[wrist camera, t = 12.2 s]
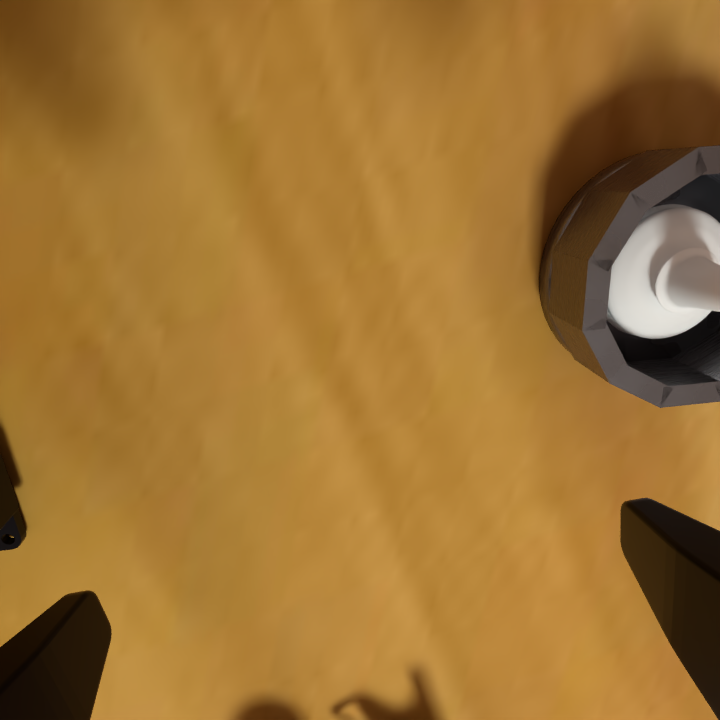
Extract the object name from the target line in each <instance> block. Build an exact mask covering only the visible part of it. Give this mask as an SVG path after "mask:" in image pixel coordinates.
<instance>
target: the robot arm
mask: <svg viewBox="0 0 720 720" xmlns="http://www.w3.org/2000/svg"><path fill="white" fill-rule="evenodd" d="M18 508H19V505H18V502H17V499H16V496H15V493H14V490H13V487H12V485H11V482H10V479H9V476H8V473H7V470H6V467H5V464H4V461H3V459H2V456H1V455H0V551H2V550H11V549H15V548H17V547H18V546H20V544H21V543H22V542H23V541H24V539H25V537H26V530H25V527H24V524H23V521H22V518H21V516H20V513H19V510H18ZM7 534H10V535H12V536H13V537H14V538H11V537H9V536H8V535H7ZM621 547H622V551H623V553H624V556H625V558H626V560H627V562H628V564H629V566H630V568H631V570H632V571H633V573H634V575H635V577H636V579H637V581H638V583H639V585H640V587H641V589H642V591H643V593H644V595H645V597H646V599H647V601H648V603H649V605H650V606H651V608H652V610H653V612H654V614H655V616H656V618H657V620H658V622H659V624H660V626H661V628H662V630H663V632H664V634H665V635H666V637H667V639H668V641H669V643H670V645H671V646H672V648H673V649H674V651H675V653H676V654H677V656H678V658H679V659H680V661H681V662H682V664H683V666H684V667H685V669H686V670H687V672H688V673H689V675H690V676H691V678H692V679H693V681H694V683H695V684H696V686H697V687H698V689H699V690H700V692H701V693H702V695H703V696H704V698H705V700H706V701H707V703H708V704H709V706H710V707H711V709H712V710H713V712H714V713H715V715H716V717H717V718H718V720H720V531H719V530H716V529H714V528H712V527H710V526H708V525H706V524H704V523H701V522H699V521H697V520H695V519H693V518H691V517H689V516H687V515H684V514H682V513H680V512H678V511H676V510H674V509H672V508H669V507H667V506H665V505H663V504H661V503H659V502H657V501H654V500H652V499H649V498H641V499H635V500H629V501H625V502H624V503H623V504H622V506H621ZM110 641H111V626H110V623H109V620H108V618H107V616H106V614H105V612H104V610H103V608H102V606H101V603H100V601H99V599H98V597H97V595H96V594H95V593H94V592H93V591H81V592H75V593H70V594H67V595H65V596H64V597H62V598H61V599H60V600H59V601H57V602H56V603H55V604H54V605H52V606H51V607H50V608H49V609H47V610H46V611H45V612H44V613H42V614H41V615H40V616H39V617H37V618H36V619H35V620H34V621H32V622H31V623H30V624H29V625H27V626H26V627H25V628H24V629H22V630H21V631H20V632H19V633H17V634H16V635H15V636H14V637H12V638H11V639H10V640H9V641H7V642H6V643H5V644H4V645H3V646H1V647H0V720H90V718H91V714H92V710H93V707H94V703H95V699H96V695H97V691H98V688H99V684H100V680H101V676H102V672H103V668H104V665H105V661H106V657H107V653H108V649H109V645H110Z"/></svg>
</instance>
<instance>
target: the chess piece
mask: <svg viewBox="0 0 720 720" xmlns="http://www.w3.org/2000/svg"><path fill="white" fill-rule="evenodd" d="M711 311H717V312H720V223H719V222H718V221H717V220H716V219H715V218H714V217H712V216H711V215H709V214H707V213H706V212H703V211H701V210H698V209H694V208H691V207H689V206H685V205H679V204H666V205H660V206H655V207H652V208H650V209H648V210H647V211H646V212H645V214H644V215H643V217H642V219H641V220H640V222H639V223H638V225H637V227H636V228H635V230H634V231H633V233H632V235H631V236H630V238H629V239H628V241H627V243H626V244H625V246H624V247H623V249H622V251H621V252H620V254H619V255H618V257H617V259H616V260H615V262H614V263H613V265H612V270H611V280H610V289H609V299H608V309H607V321H608V322H609V323H610V324H611V325H613V326H614V327H615V328H617V329H618V330H620V331H622V332H624V333H627V334H630V335H634V336H638V337H642V338H648V339H661V338H667V337H671V336H675V335H678V334H680V333H683V332H685V331H687V330H689V329H690V328H692V327H694V326H695V325H697V324H698V323H699V322H701V321H702V320H703V319H704V318H705V317H706V316H707V315H708V314H709V313H710V312H711Z"/></svg>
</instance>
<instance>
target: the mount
mask: <svg viewBox="0 0 720 720" xmlns="http://www.w3.org/2000/svg"><path fill="white" fill-rule="evenodd" d="M666 204H679V205H685V206H689V207H691V208H694V209H698V210H701V211H703V212H706V213H707V214H709V215H711V216H712V217H714V218H715V219H716V220H717V221H718V222H719V223H720V146H706V147H692V148H678V149H665V150H652V151H646V152H644V153H641V154H637V155H634V156H630V157H628V158H626V159H623V160H621V161H619V162H616V163H615V164H613V165H611V166H609V167H608V168H606V169H604V170H603V171H601V172H600V173H599V174H597V175H596V176H595V177H593V178H592V179H591V180H589V181H588V182H587V183H586V184H585V185H584V186H583V187H582V188H581V189H580V190H579V191H578V192H577V193H576V194H575V195H574V196H573V198H572V199H571V200H570V201H569V202H568V204H567V205H566V206H565V208H564V209H563V211H562V212H561V214H560V215H559V217H558V219H557V220H556V222H555V224H554V226H553V228H552V230H551V232H550V235H549V237H548V240H547V243H546V246H545V249H544V253H543V257H542V261H541V268H540V276H539V286H540V298H541V305H542V308H543V312H544V315H545V318H546V320H547V323H548V325H549V327H550V329H551V331H552V332H553V334H554V335H555V337H556V338H557V340H558V341H559V342H560V343H561V344H562V345H563V346H564V347H565V349H567V350H568V351H569V352H570V353H571V354H572V356H573V357H574V359H575V360H576V361H578V362H579V363H581V364H582V365H584V366H585V367H587V368H588V369H590V370H591V371H592V372H594V373H595V374H597V375H598V376H600V377H601V378H603V379H604V380H606V381H607V382H609V383H610V384H612V385H614V386H616V387H618V388H621V389H623V390H625V391H627V392H629V393H631V394H633V395H635V396H637V397H639V398H641V399H643V400H645V401H647V402H650V403H652V404H654V405H656V406H658V407H660V408H662V407H672V406H681V405H691V404H700V403H710V402H719V401H720V312H717V311H711V312H710V313H709V314H708V315H707V316H706V317H705V318H704V319H703V320H702V321H701V322H699V323H698V324H697V325H695V326H694V327H692V328H690V329H689V330H687V331H685V332H683V333H680V334H678V335H675V336H671V337H667V338H661V339H648V338H642V337H638V336H634V335H630V334H627V333H624V332H622V331H620V330H618V329H617V328H615V327H614V326H613V325H611V324H610V323H609V322H608V321H607V309H608V299H609V289H610V280H611V270H612V265H613V263H614V262H615V260H616V259H617V257H618V255H619V254H620V252H621V251H622V249H623V247H624V246H625V244H626V243H627V241H628V239H629V238H630V236H631V235H632V233H633V231H634V230H635V228H636V227H637V225H638V223H639V222H640V220H641V219H642V217H643V215H644V214H645V212H646V211H647V210H648V209H650V208H652V207H655V206H660V205H666Z"/></svg>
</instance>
